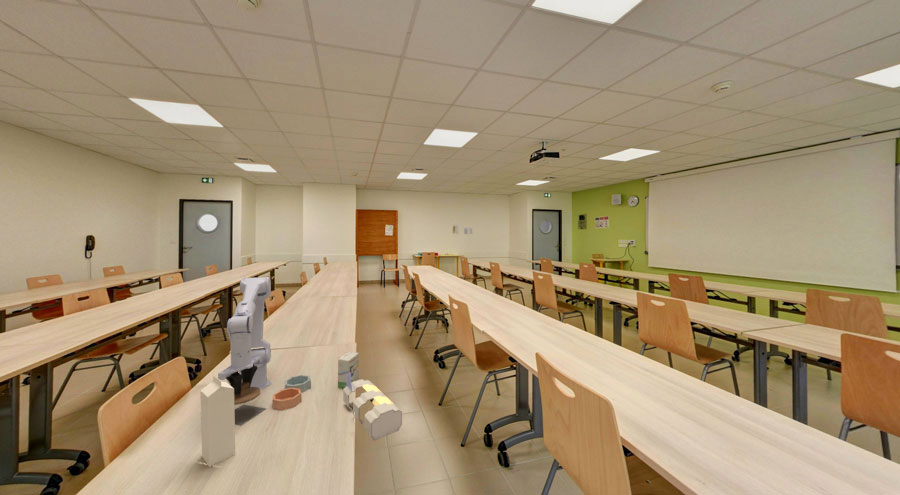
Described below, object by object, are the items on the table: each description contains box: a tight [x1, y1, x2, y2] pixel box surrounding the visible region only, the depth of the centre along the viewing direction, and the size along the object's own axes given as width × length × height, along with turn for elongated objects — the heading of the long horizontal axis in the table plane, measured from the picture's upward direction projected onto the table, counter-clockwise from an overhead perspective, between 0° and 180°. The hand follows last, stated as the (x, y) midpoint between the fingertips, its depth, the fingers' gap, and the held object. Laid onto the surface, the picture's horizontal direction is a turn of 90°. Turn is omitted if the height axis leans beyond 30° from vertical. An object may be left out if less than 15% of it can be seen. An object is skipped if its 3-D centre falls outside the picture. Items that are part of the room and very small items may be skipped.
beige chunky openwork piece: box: [342, 372, 403, 442], centre depth 103 cm, size 25×10×13 cm, turn 37°
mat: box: [234, 404, 268, 427], centre depth 104 cm, size 10×10×1 cm
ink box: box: [337, 351, 360, 389], centre depth 126 cm, size 9×5×12 cm, turn 168°
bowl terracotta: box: [272, 388, 302, 411], centre depth 111 cm, size 9×9×4 cm
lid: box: [234, 382, 261, 406], centre depth 103 cm, size 10×10×4 cm
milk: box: [200, 374, 236, 468], centre depth 84 cm, size 6×6×22 cm
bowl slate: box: [284, 374, 312, 394], centre depth 122 cm, size 9×9×4 cm
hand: (241, 391), depth 103 cm, fingers closed on lid, 3 cm apart
